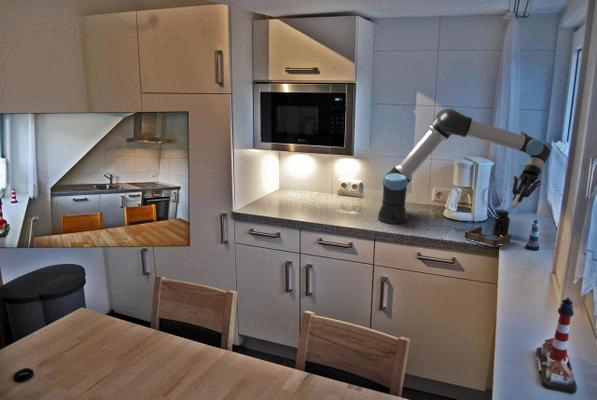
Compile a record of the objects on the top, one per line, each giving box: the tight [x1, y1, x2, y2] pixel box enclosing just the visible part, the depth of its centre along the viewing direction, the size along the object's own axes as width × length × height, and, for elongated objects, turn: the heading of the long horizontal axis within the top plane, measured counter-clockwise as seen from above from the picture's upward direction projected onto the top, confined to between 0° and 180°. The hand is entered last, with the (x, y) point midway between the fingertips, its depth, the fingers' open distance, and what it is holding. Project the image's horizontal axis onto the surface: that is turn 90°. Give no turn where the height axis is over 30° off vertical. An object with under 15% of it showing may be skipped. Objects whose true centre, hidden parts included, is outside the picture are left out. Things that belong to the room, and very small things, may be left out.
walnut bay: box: [464, 226, 512, 246], centre depth 215 cm, size 15×14×4 cm
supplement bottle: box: [492, 209, 511, 237], centre depth 222 cm, size 7×7×12 cm
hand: (513, 206), depth 227 cm, fingers closed
